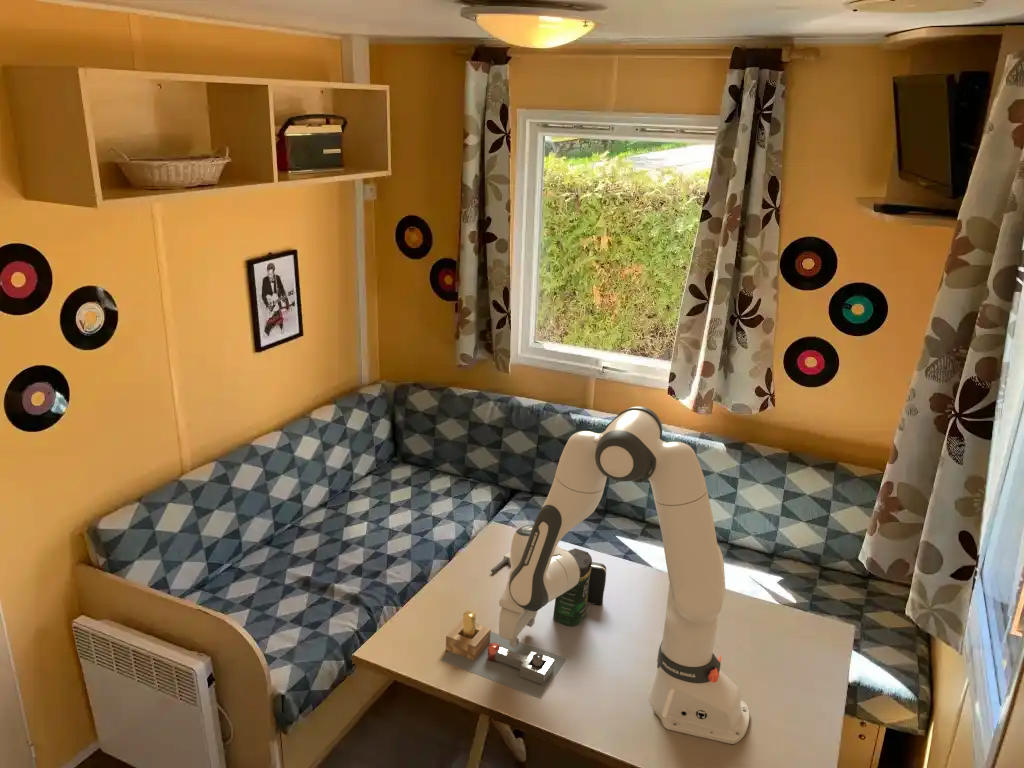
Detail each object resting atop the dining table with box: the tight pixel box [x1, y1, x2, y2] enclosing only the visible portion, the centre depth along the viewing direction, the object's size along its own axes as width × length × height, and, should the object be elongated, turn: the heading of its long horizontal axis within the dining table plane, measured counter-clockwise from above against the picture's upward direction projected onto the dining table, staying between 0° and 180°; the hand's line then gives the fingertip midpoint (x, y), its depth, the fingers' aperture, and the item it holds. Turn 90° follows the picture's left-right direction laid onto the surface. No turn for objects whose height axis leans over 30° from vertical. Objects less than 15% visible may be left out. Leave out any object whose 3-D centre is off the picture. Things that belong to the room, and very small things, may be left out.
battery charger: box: [587, 561, 607, 606], centre depth 214 cm, size 7×4×11 cm, turn 79°
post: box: [532, 653, 543, 669], centre depth 184 cm, size 2×2×5 cm
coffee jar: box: [553, 548, 593, 627], centre depth 205 cm, size 10×8×19 cm
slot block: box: [445, 618, 492, 661], centre depth 193 cm, size 8×8×4 cm
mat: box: [440, 631, 568, 699], centre depth 189 cm, size 26×16×1 cm, turn 64°
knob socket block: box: [488, 643, 554, 685], centre depth 186 cm, size 16×6×3 cm, turn 64°
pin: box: [462, 610, 477, 639], centre depth 192 cm, size 3×3×9 cm
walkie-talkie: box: [490, 551, 511, 573], centre depth 232 cm, size 9×4×20 cm
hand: (522, 634), depth 195 cm, fingers open, 8 cm apart
